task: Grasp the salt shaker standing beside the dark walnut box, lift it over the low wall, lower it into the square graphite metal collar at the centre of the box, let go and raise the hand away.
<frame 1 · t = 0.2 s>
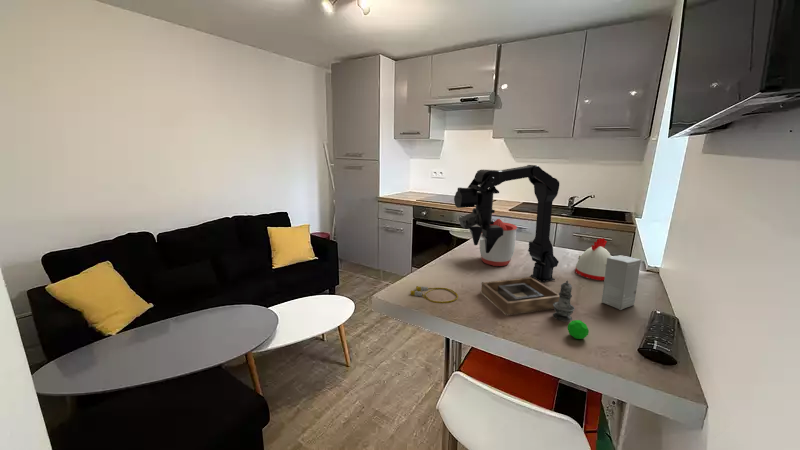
hand: (481, 248, 116), 15 cm above the breakfast bar, tool pointing down, fingers open, 9 cm apart
citrus juicer: (493, 262, 144), on the breakfast bar
inlet collar: (519, 294, 108), in the walled box
skincare box: (616, 303, 106), on the breakfast bar
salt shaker: (562, 317, 98), on the breakfast bar
white chicken dome: (594, 274, 131), on the breakfast bar
polyhedron: (576, 338, 87), on the breakfast bar
walled box: (519, 300, 108), on the breakfast bar
extension cord: (435, 296, 112), on the breakfast bar
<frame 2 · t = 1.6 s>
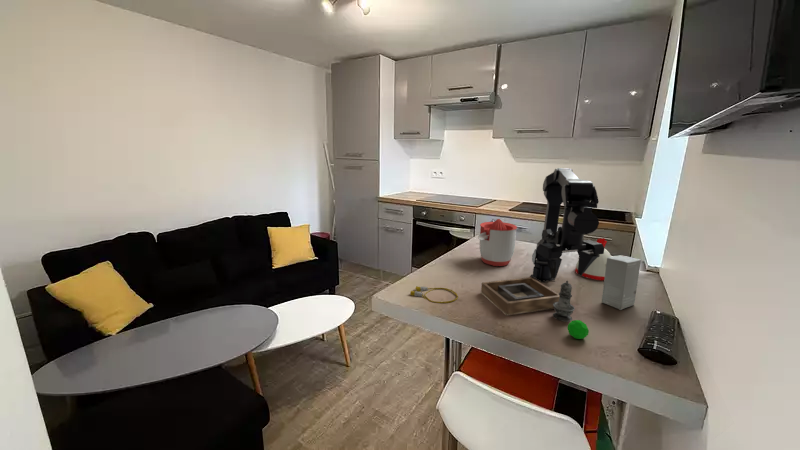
hand: (566, 276, 95), 13 cm above the breakfast bar, tool pointing down, fingers open, 9 cm apart
nothing on the breakfast bar moved.
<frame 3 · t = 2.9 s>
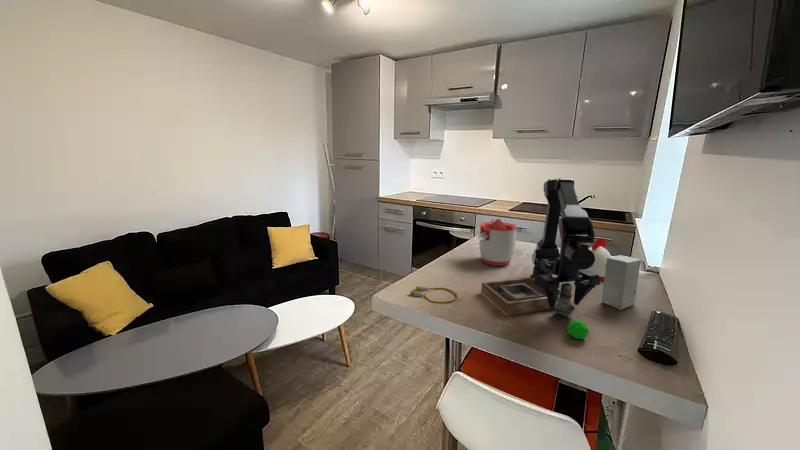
hand: (563, 306, 97), 4 cm above the breakfast bar, tool pointing down, fingers closed on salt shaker, 8 cm apart
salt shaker: (562, 317, 98), on the breakfast bar, touching gripper
everything else where it was.
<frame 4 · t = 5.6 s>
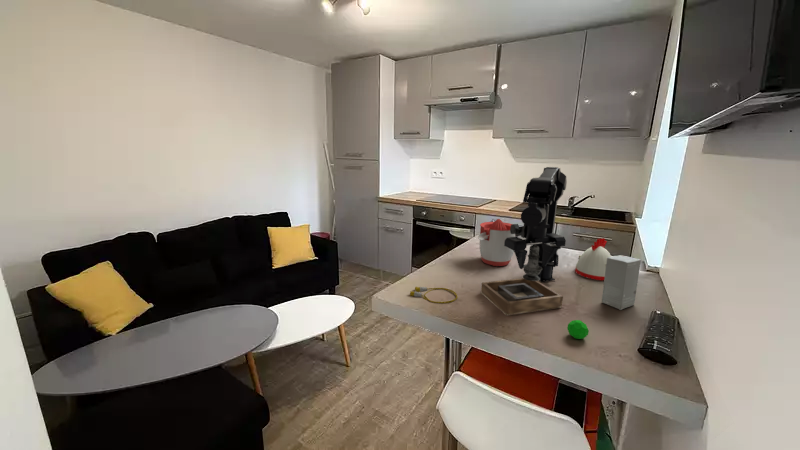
hand: (532, 267, 103), 13 cm above the breakfast bar, tool pointing down, fingers closed on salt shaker, 8 cm apart
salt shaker: (531, 278, 104), point 9 cm above the breakfast bar, touching gripper
everything else where it was.
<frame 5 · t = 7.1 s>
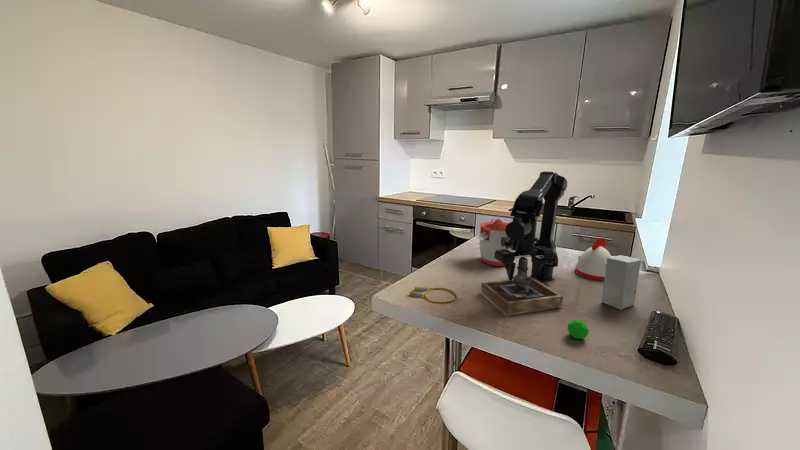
hand: (521, 278, 107), 8 cm above the breakfast bar, tool pointing down, fingers closed on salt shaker, 8 cm apart
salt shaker: (520, 289, 107), point 4 cm above the breakfast bar, touching gripper
everything else where it was.
when the fingers open (6 cm above the breakfast bar, at t = 8.4 s): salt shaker drops 2 cm, resting on walled box.
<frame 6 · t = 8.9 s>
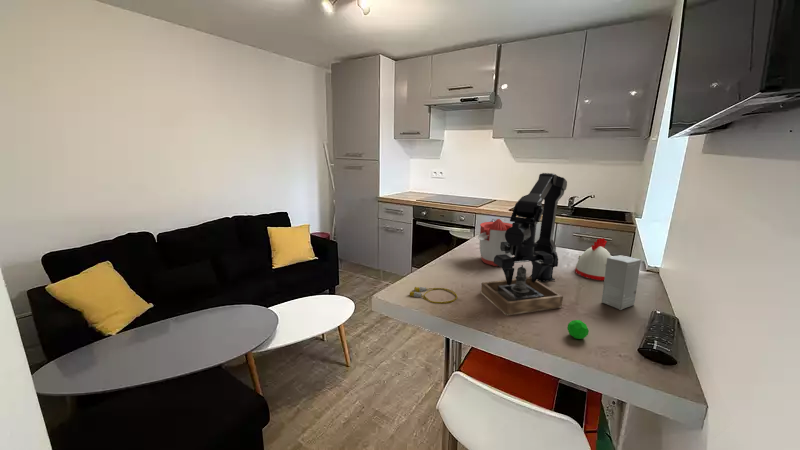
hand: (521, 283, 107), 6 cm above the breakfast bar, tool pointing down, fingers open, 9 cm apart
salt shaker: (519, 299, 108), resting on walled box
everything else where it was.
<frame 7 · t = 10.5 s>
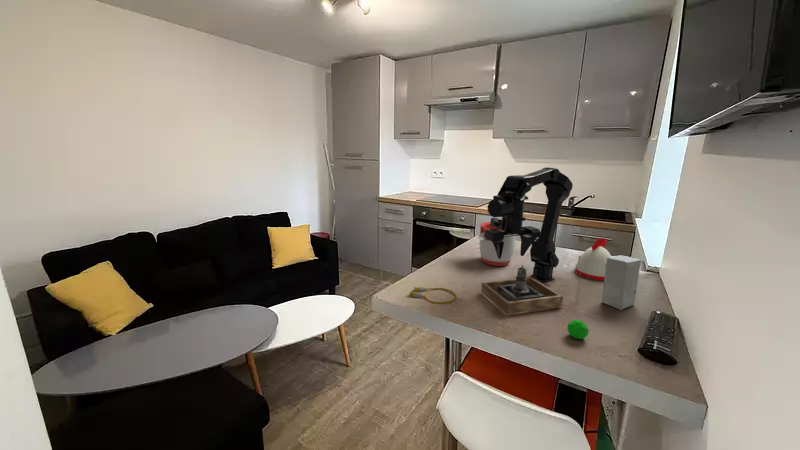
hand: (510, 257, 112), 13 cm above the breakfast bar, tool pointing down, fingers open, 9 cm apart
nothing on the breakfast bar moved.
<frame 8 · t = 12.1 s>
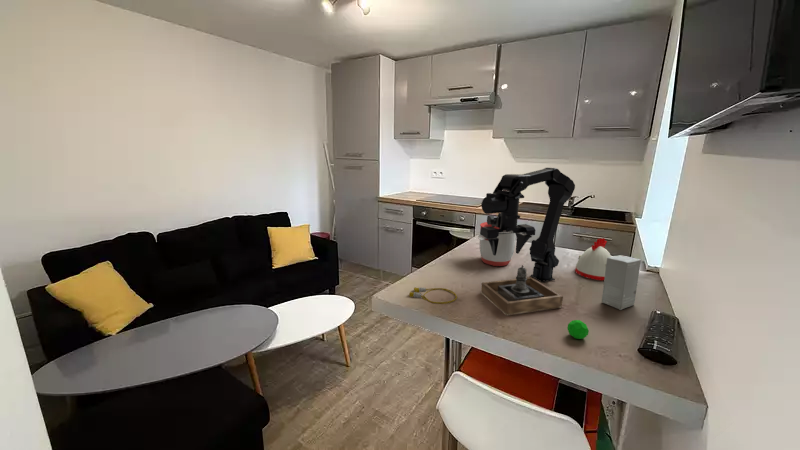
hand: (505, 254, 115), 13 cm above the breakfast bar, tool pointing down, fingers open, 9 cm apart
nothing on the breakfast bar moved.
at the end: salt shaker 0.1 cm off-centre on the inlet collar, point 0.3 cm above the inlet collar's base; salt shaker tilted 0°; the gripper is holding nothing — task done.
